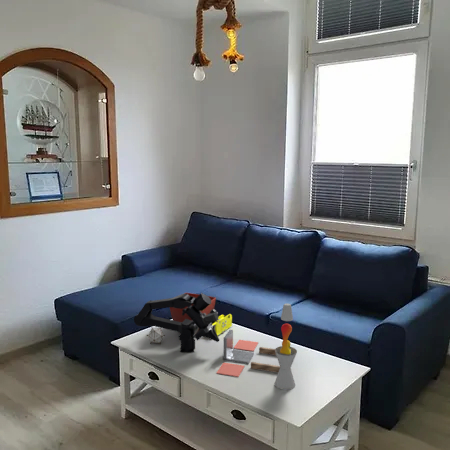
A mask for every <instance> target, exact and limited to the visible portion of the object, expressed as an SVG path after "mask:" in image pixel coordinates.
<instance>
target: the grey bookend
mask: <svg viewBox="0 0 450 450" xmlns="http://www.w3.org/2000/svg"><path fill="white" fill-rule="evenodd" d="M222 355H223V359H222V360H223V361H228V362H234V363H239V364H245V363H246V364H248V365H249V364H250V363H251V361H252V359H253V357H254V355H255V353H254V351H247V350H240V349H234V330H233V329H229V330H228V331H227V333H226V334H225V335H224V336H223V353H222ZM246 364H245V365H246Z"/></svg>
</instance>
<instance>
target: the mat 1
mask: <svg viewBox="0 0 450 450" xmlns="http://www.w3.org/2000/svg"><path fill="white" fill-rule="evenodd" d="M244 368H245V365H242V364H235V363H229V362H223V363H221V365H220V367H219V369H218V370H217V371H216V372H215V373H216V374H217V375H222V376H223V375H224V376H231V377H235V378H239V377H240V375H241V373H242V372H243V370H244Z"/></svg>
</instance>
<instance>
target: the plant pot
mask: <svg viewBox="0 0 450 450" xmlns="http://www.w3.org/2000/svg"><path fill="white" fill-rule="evenodd" d="M183 294H188V295H189V296H192V297H196V298H197V297H198V296H199V295H200V294H198V293H192V292H184V293H183ZM207 296H208V295H207ZM208 297H209V298H210V299H211V304H210V305H209V306H208V307H207V308H206V309H204V310H203V311H201V312H202V314H203V313H205V314H206V315H207V314H209V313H210V311H211V310H213V309H214V310H215V305H216V299H217V297H216V296H215V297H214V296H210V295H209V296H208ZM193 305H194V304H191V306H193ZM186 308H187V307H185V309H186ZM183 309H184V308H183ZM183 309H177V308H173V307H169V311H170V316H171V320H173V321H178V322H183V321H184V320H185V319H188V320H192V319H191V318H190V317H189V316H188V315H187V314H184V315H183V316H182V310H183ZM198 331H199V330H198ZM198 331H197V332H198Z"/></svg>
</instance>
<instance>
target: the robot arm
mask: <svg viewBox="0 0 450 450" xmlns="http://www.w3.org/2000/svg"><path fill="white" fill-rule="evenodd" d="M198 295H199V296H198V297H197V298H196V297H192V296H189V295H188V294H184V293H181V294H178V295H176V296H174V297H171V298H163V299H155V300H152V299H151V300H148V301H147V302H146V303H144V304H143V307H142V308H141V310H140V311H139V312H138V313H137V314H136V315H135V316H134V317H133V322H134V323H135V326H137V327H150V326H151V327H155V328H161V329H165V330H169V331H174V332H177V333H179V335H178V340H179V341H180V351H179V352H180V353H195V350H196V341H200V339H201V338H202V337H204V338H206V339H209V340H213V341H214V342H216V343H219V342H220V338H219V335H218V336H217V333H216V331H215V325H212V324H214V323H215V322H216V321H217V320H218V318H219V315H218V314H219V312H218V311H217V310H216V309H215V308H214V309H213V310H211V311H210V313H209V314H207V315H206V314H205V313H203V314H202V312H201V311H203V310H204V309H206V308H207V307H208V306H209V305H210V304H211V299H210V298H209V297H208V295H206V294H204V293H203V292H201V293H200V294H198ZM191 304H194V305H193V306H191ZM170 307H173V308H177V309H183V308H184V309H183V310H182V316H183V315H184V314H187V315H188V316H189V317H190V318H191V319H192V320H188V319H185V320H184V321H183V322H178V321H173V319H168V318H165V317H158V316H156V315H154V314H153V313H152V312H153V310H161V309H167V308H168V309H170ZM185 307H187V308H186V309H185ZM198 330H199V331H198ZM197 331H198V332H197Z"/></svg>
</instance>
